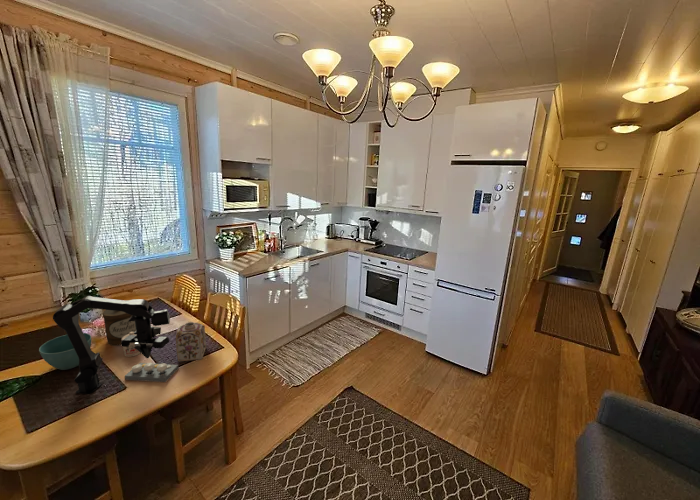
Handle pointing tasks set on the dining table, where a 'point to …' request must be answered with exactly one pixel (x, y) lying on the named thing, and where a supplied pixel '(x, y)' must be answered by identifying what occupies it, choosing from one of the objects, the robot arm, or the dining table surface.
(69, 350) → the teal bowl
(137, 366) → the button inner
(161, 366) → the white lever knob
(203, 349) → the decorative jar
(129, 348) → the teacup with lid
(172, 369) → the board
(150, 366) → the button middle
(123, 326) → the wooden container
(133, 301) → the robot arm
